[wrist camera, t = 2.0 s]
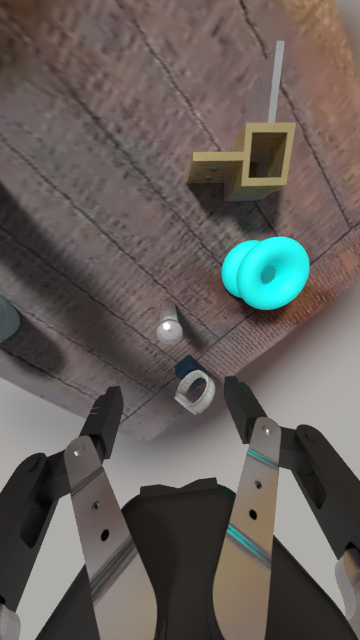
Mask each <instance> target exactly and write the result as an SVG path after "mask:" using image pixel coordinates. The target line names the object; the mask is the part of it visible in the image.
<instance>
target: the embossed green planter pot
mask: <svg viewBox="0 0 360 640" xmlns="http://www.w3.org/2000/svg"><path fill="white" fill-rule="evenodd" d="M19 318H20V317H19V315H18V313H17V311H16V310H15V308H14V307H13V306H12V305H11V304H10V303H9V302H8V301H6V300H5V299H3V298H1V297H0V343H1V342H2V341H4V340H5V339H7V338H8V337H10V336H11V335H13V334H14V333H15V332H16V331H17V330H18V328H19V326H20V319H19Z"/></svg>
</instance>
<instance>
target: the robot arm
mask: <svg viewBox="0 0 360 640" xmlns="http://www.w3.org/2000/svg"><path fill="white" fill-rule="evenodd" d="M224 397H225V400H226V403H227V405H228V408H229V410H230V413H231V415H232V418H233V420H234V422H235V425H236V428H237V430H238V433H239V435H240V438H241V440H242V443H243V444H249V449H248V451H247V455H246V459H245V462H244V466H243V470H242V474H241V479H240V482H239V486H238V491H237V494H236V493H235V492H233V491H232V490H230V489H229V488H227V487H225V486H222V485H219V484H217V480H216V477H215V478H207V479H199V480H196V481H194V482H192V483H190V484H188V485H186V486H184V487H181V488H174V487H169V486H165V485H160V484H159V485H151V486H144V487H141V488H140V494H139V495H137V496H135V497H134V498H132V499H131V500H130V501H129V502H127V503H126V504H125V506H123V508H122V509H121V510H120V507H119V505H118V502H117V500H116V497H115V495H114V492H113V490H112V488H111V485H110V483H109V480H108V478H107V475H106V473H105V470H104V468H103V466H102V464H103V460H104V459H110V456H111V453H112V448H113V445H114V441H115V438H116V434H117V430H118V427H119V423H120V419H121V415H122V412H123V398H122V393H121V389H120V386H113V387H108V389H107V391H106V394H105V395H101V396H100V397H99V398H98V399H97V400H96V401H95V403H94V405H93V407H92V409H91V411H90V414H89V416H88V418H87V420H86V422H85V424H84V426H83V428H82V431H81V433H80V435H79V437H78V438H76V439H74V440H73V441H72V442H71V443H70V444H69V445H68V446H67V448H66V449H65V450H63V451H61V452H59V453H57V454H54V455H51V456H49V457H47V456H46V455H45V454H44V453H36V454H33V455H31V456H30V457H28V458H27V459H25V460H24V461H23V462H22V463H21V464H20V465H19V466H18V467H17V468H16V470H15V471H14V473H13V475H12V476H11V477H10V479H9V480H8V482H7V484H6V485H5V487H4V488H3V490H2V492H1V493H0V640H18V639H19V634H20V619H19V617H18V615H17V614H16V613H15V612H16V609H17V607H18V604H19V602H20V599H21V596H22V594H23V591H24V589H25V586H26V583H27V581H28V578H29V576H30V573H31V571H32V568H33V565H34V563H35V560H36V558H37V555H38V553H39V550H40V547H41V545H42V542H43V539H44V537H45V534H46V532H47V529H48V527H49V524H50V521H51V519H52V516H53V514H54V511H55V508H56V506H57V503H58V501H59V498H61V497H62V496H65V495H67V494H69V493H70V494H71V500H72V504H73V509H74V513H75V518H76V523H77V527H78V531H79V536H80V540H81V545H82V549H83V554H84V559H85V564H84V566H83V568H82V569H81V571H80V572H79V573H78V575H77V577H76V578H75V580H74V581H73V583H72V584H71V586H70V587H69V589H68V590H67V592H66V593H65V595H64V596H63V598H62V600H61V601H60V602H59V604H58V606H57V607H56V609H55V610H54V612H53V613H52V615H51V616H50V618H49V619H48V621H47V622H46V624H45V626H44V627H43V628H42V630H41V632H40V633H39V634H38V636H37V637H36V639H35V640H360V481H359V479H358V478H357V477H356V476H355V475H354V474H353V472H352V471H351V470H350V468H349V467H348V466H347V465H346V463H345V462H344V461H343V459H342V458H341V457H340V456H339V454H338V453H337V452H336V451H335V449H334V448H333V447H332V446H331V444H330V443H329V442H328V441H327V440H326V438H325V437H324V436H323V434H322V433H321V432H319V431H318V430H317V429H315V428H313V427H311V426H309V425H299V426H298V427H297V429H296V430H294V429H289V428H285V427H281V426H279V425H278V424H277V423H276V422H275V421H273V420H272V419H270V418H268V417H267V415H266V413H265V412H264V410H263V409H262V407H261V405H260V404H259V402H258V401H257V399H256V398H255V396H254V394H253V393H252V391H251V389H250V388H249V386H247V385H246V384H245V383H244V382H240V383H239V381H238V379H237V377H236V376H227V377H225V383H224ZM279 467H282V468H286V469H290V470H291V471H292V473H293V475H294V477H295V479H296V481H297V483H298V485H299V487H300V489H301V490H302V492H303V494H304V496H305V498H306V500H307V502H308V504H309V506H310V508H311V509H312V512H313V513H314V515H315V517H316V519H317V521H318V523H319V525H320V527H321V529H322V531H323V533H324V534H325V536H326V538H327V540H328V542H329V544H330V546H331V548H332V550H333V551H334V553H335V556H336V557H337V559H338V562H337V563H336V566H335V576H336V581H337V584H338V587H339V589H340V591H341V594H342V597H343V600H344V604H345V610H346V618H345V616H344V615H343V613H342V612H341V611H340V609H339V608H338V607H337V605H336V604H335V603H334V601H333V600H332V599H331V598H330V597H329V596H328V595H327V593H325V591H324V590H323V589H322V588H321V587H320V586H319V585H318V583H316V581H315V580H314V579H313V578H312V577H311V576H310V575H309V574H308V572H307V571H306V570H305V569H304V568H303V567H302V566H301V565H300V563H299V562H298V561H297V560H296V559H295V558H294V557H293V556H292V555H291V553H290V552H289V551H288V550H287V549H286V548H285V547H284V546H283V545H282V544H281V542H280V541H279V540H278V539H277V538H276V537H275V536H274V535H273V532H274V521H275V510H276V498H277V487H278V476H279Z"/></svg>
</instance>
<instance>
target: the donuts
mask: <svg viewBox="0 0 360 640" xmlns="http://www.w3.org/2000/svg"><path fill="white" fill-rule="evenodd" d="M308 274H309V259H308V256H307V253H306V251H305V250H304V248H303V247H302V246H301V245H300V244H299V243H298V242H297V241H295V240H293V239H290V238H287V237H272V238H269V239H266V240H263V241H257V240H251V241H246V242H243V243H241V244H239V245H237V246H236V247H234V248H233V249H232V250H231V251H230V252H229V254H228V255H227V257H226V258H225V260H224V263H223V266H222V280H223V283H224V286H225V287H226V289H227V290H228V291H229V292H230V293H231V294H233V295H234V296H236V297H239V298H242V299H243V300H244V301H245V302H246V303H247V304H249V305H250V306H252V307H254V308H257V309H261V310H272V309H276V308H279V307H282V306H284V305H286V304H288V303H289V302H291V301H292V300H293V299H294V298H295V297H296V296H297V295H298V294H299V293H300V292H301V290H302V289H303V287H304V285H305V283H306V281H307V278H308Z"/></svg>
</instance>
